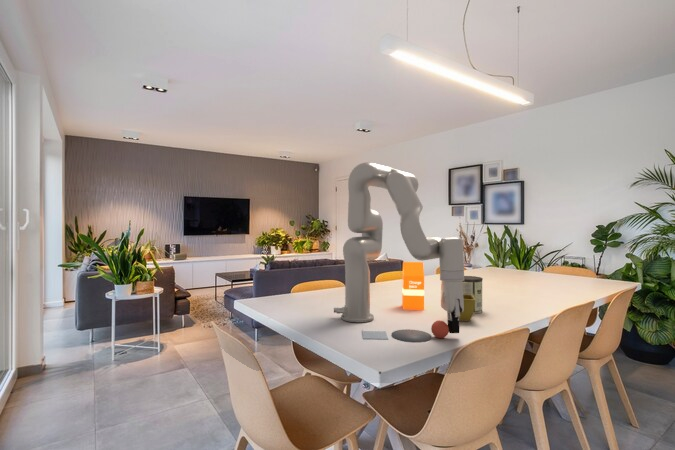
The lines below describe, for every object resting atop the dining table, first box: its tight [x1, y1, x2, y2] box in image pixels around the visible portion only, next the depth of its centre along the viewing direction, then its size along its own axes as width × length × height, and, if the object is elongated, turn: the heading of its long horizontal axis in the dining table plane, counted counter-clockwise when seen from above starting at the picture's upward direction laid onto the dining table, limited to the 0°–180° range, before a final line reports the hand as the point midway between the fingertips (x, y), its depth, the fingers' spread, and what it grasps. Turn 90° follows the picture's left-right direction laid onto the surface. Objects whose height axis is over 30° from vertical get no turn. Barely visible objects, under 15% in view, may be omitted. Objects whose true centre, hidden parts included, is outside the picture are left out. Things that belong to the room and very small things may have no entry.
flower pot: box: [459, 295, 475, 322], centre depth 141 cm, size 9×9×9 cm
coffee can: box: [462, 275, 484, 314], centre depth 156 cm, size 10×10×14 cm
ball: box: [430, 320, 450, 339], centre depth 119 cm, size 6×6×6 cm
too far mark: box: [361, 330, 389, 340], centre depth 121 cm, size 8×8×1 cm
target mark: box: [390, 328, 433, 343], centre depth 121 cm, size 13×13×1 cm
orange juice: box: [401, 261, 425, 311], centre depth 161 cm, size 8×9×20 cm
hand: (453, 332), depth 119 cm, fingers closed
